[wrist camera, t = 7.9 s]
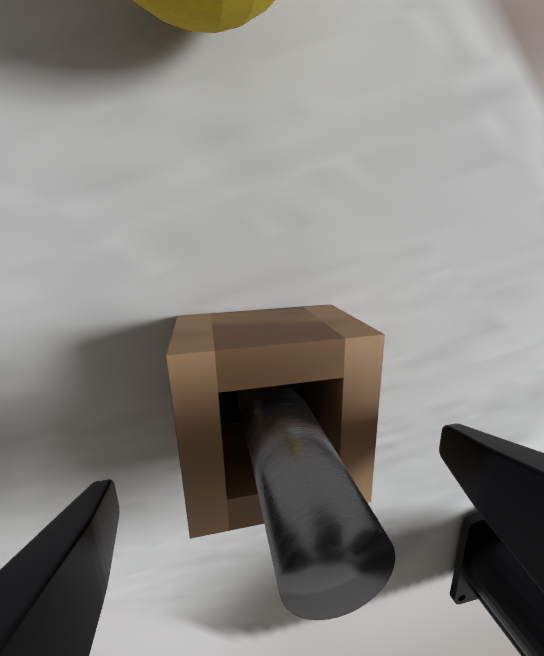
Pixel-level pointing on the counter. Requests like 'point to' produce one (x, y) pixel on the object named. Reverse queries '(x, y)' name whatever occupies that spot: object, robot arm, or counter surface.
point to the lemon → (205, 13)
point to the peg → (311, 509)
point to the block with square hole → (263, 371)
